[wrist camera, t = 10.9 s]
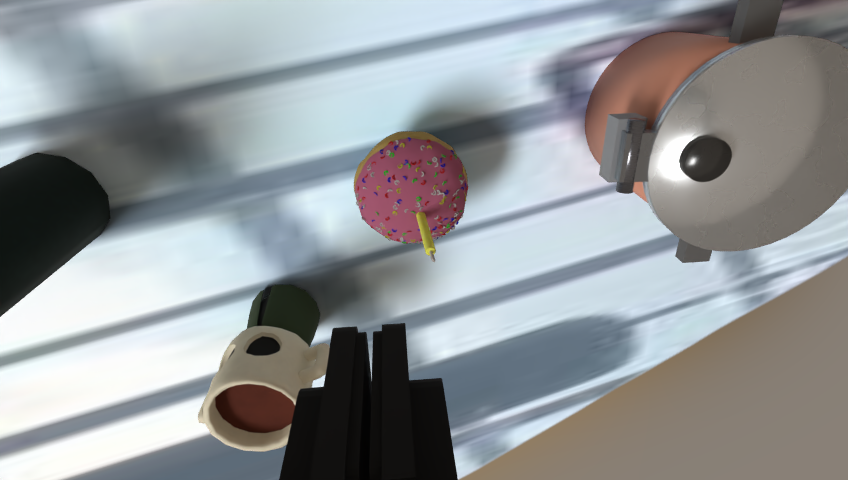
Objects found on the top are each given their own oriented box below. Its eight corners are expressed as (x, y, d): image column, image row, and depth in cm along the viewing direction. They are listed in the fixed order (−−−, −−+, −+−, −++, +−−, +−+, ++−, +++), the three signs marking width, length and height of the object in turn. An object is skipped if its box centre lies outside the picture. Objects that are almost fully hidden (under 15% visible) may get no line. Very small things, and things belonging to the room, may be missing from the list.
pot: (573, -10, 34) (643, -13, 25) (760, -16, 35) (895, -20, 26) (549, 217, 42) (595, 278, 33) (701, 208, 43) (788, 266, 34)
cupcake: (476, 188, 41) (509, 256, 30) (390, 234, 42) (393, 314, 31) (429, 99, 37) (447, 140, 26) (336, 152, 38) (318, 212, 28)
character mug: (319, 257, 42) (295, 354, 31) (356, 315, 46) (347, 422, 34) (214, 303, 44) (155, 412, 32) (258, 356, 47) (217, 473, 35)
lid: (636, 38, 26) (650, 41, 24) (901, 31, 26) (933, 33, 24) (601, 247, 32) (611, 261, 30) (818, 241, 32) (839, 254, 30)
